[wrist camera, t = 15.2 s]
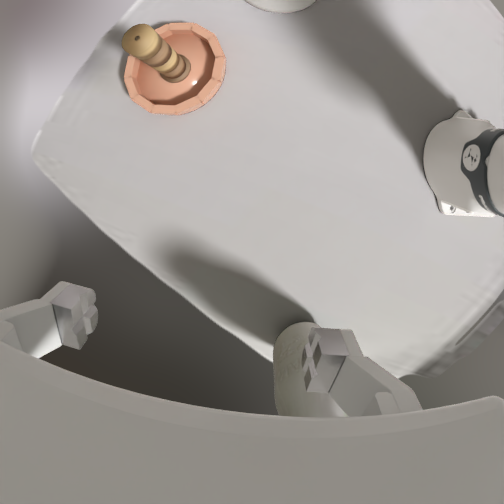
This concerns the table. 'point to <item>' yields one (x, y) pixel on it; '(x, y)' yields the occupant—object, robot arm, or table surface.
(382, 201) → the table surface
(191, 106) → the dish
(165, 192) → the table surface
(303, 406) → the glass bottle
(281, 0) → the candlestick
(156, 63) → the tan wooden ridged cylinder
